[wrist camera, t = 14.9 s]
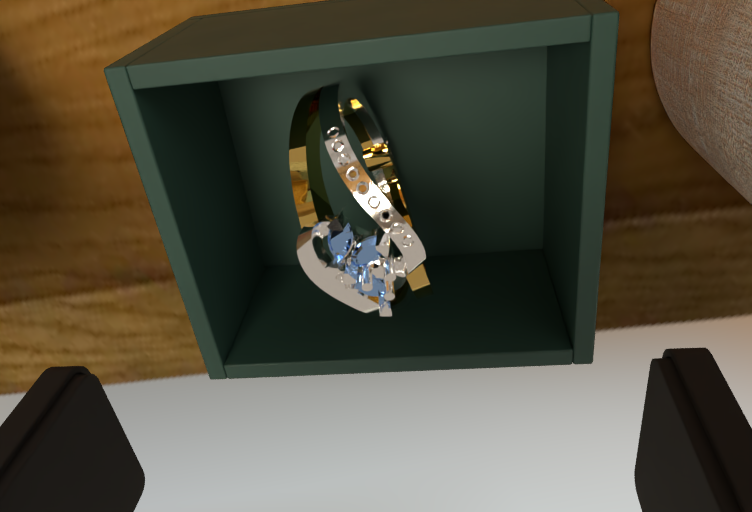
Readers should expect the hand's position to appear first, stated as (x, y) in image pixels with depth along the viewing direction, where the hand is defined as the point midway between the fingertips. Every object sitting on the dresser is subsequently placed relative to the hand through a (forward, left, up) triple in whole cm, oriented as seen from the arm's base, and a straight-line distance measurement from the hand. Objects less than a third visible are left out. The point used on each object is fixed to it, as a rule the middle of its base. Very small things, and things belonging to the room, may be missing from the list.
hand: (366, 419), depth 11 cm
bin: (+1, 0, -14) cm, 14 cm away
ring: (+1, 0, -13) cm, 13 cm away
